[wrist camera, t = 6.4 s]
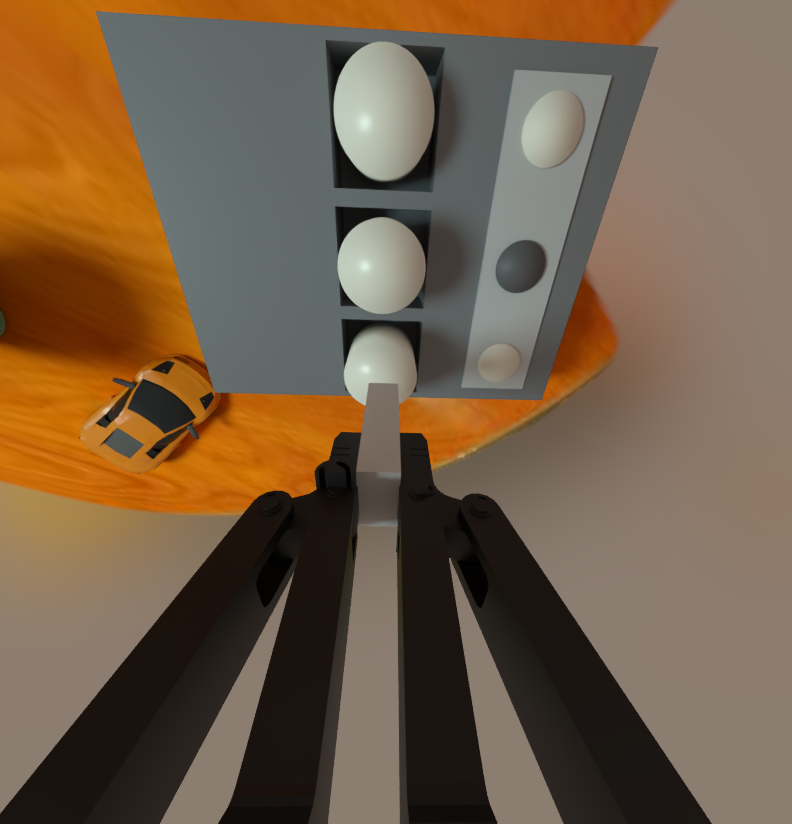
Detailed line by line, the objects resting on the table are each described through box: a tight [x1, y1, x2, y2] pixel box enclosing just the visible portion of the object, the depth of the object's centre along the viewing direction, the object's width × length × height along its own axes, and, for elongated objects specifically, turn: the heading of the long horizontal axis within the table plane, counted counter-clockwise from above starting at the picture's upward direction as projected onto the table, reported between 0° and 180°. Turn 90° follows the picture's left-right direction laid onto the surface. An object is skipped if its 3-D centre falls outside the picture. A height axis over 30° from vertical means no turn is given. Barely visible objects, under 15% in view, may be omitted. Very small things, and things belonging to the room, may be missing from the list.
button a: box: [344, 322, 417, 406], centre depth 21 cm, size 4×4×4 cm
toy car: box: [79, 354, 221, 474], centre depth 27 cm, size 7×13×3 cm, turn 125°
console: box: [96, 11, 658, 400], centre depth 20 cm, size 24×18×4 cm
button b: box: [338, 217, 426, 314], centre depth 17 cm, size 4×4×4 cm
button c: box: [334, 42, 434, 184], centre depth 15 cm, size 4×4×4 cm
